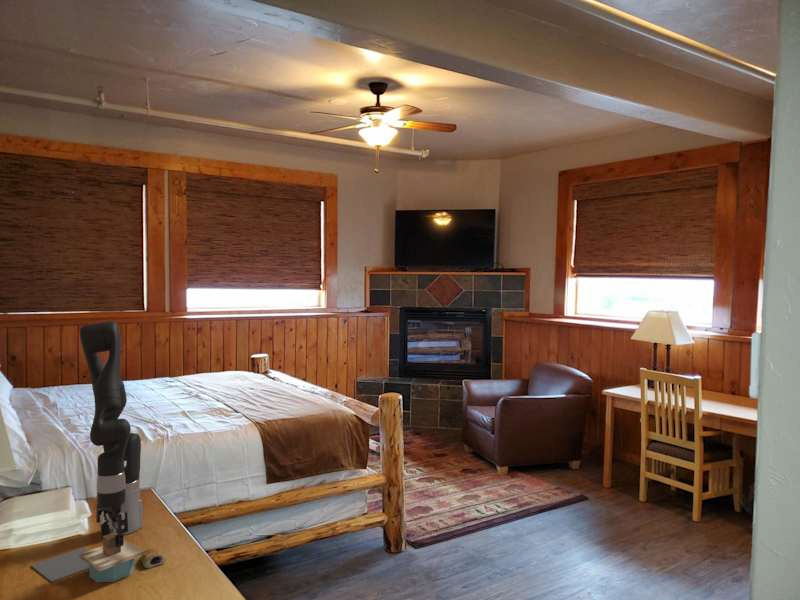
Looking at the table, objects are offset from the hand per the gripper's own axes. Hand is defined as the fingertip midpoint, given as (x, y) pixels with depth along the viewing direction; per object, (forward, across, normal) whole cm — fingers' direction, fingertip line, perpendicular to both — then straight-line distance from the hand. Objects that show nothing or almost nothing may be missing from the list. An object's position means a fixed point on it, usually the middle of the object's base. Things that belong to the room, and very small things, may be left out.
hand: (112, 542), depth 172 cm
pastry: (+10, -3, -11) cm, 15 cm away
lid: (+4, 0, 0) cm, 4 cm away
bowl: (+9, 0, 0) cm, 9 cm away
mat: (+9, +15, +6) cm, 18 cm away
